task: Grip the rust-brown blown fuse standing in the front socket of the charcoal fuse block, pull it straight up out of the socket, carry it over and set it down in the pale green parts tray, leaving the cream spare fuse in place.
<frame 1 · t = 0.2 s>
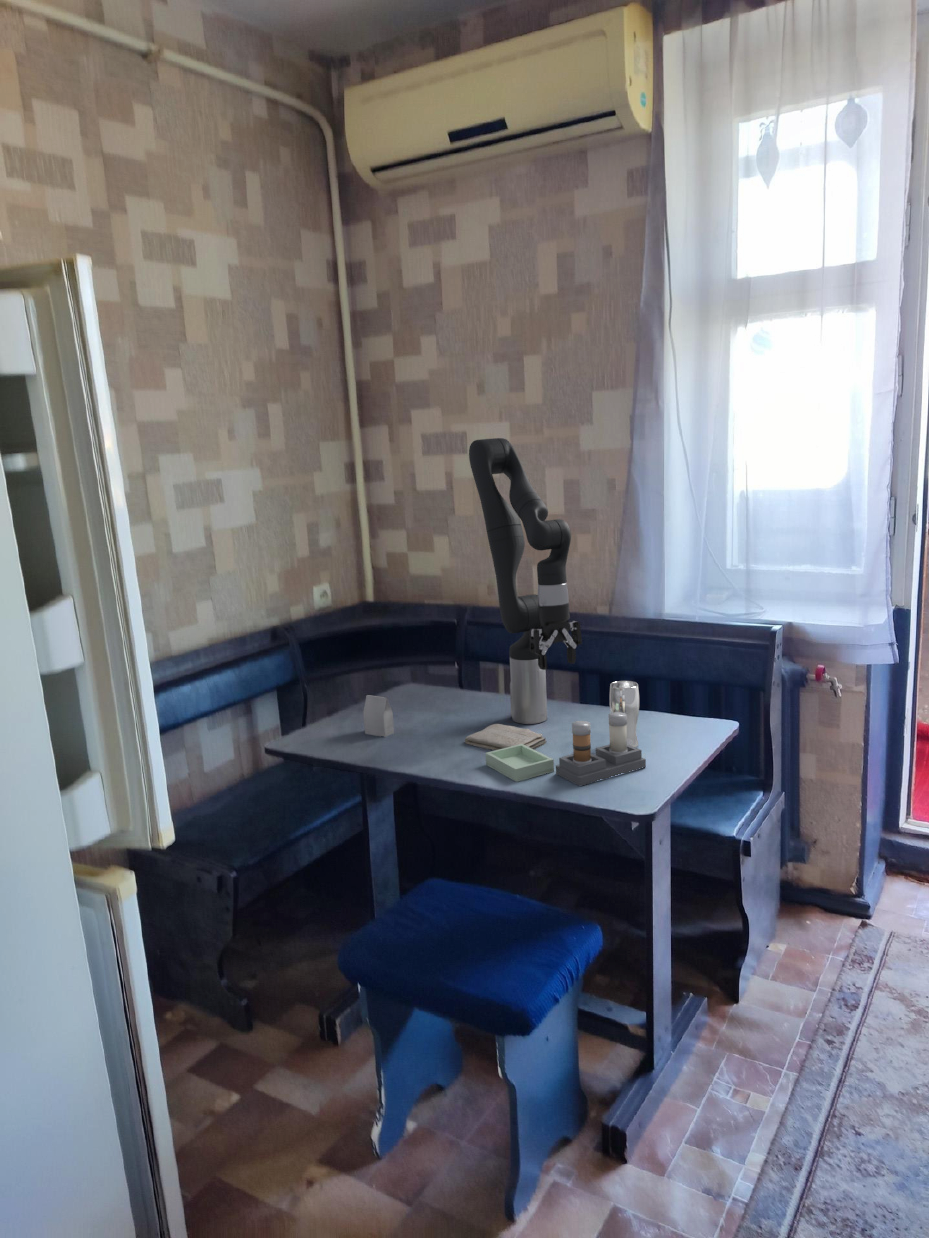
hand: (557, 666, 225), 17 cm above the table, tool pointing down, fingers open, 8 cm apart
washcloth: (505, 745, 223), on the table
beer glass: (625, 745, 217), on the table
fuse block: (601, 770, 202), on the table
parts tray: (519, 768, 206), on the table
spare fuse: (618, 757, 203), point 2 cm above the table, touching fuse block
blown fuse: (582, 767, 199), point 2 cm above the table, touching fuse block
tea bag: (379, 734, 236), on the table
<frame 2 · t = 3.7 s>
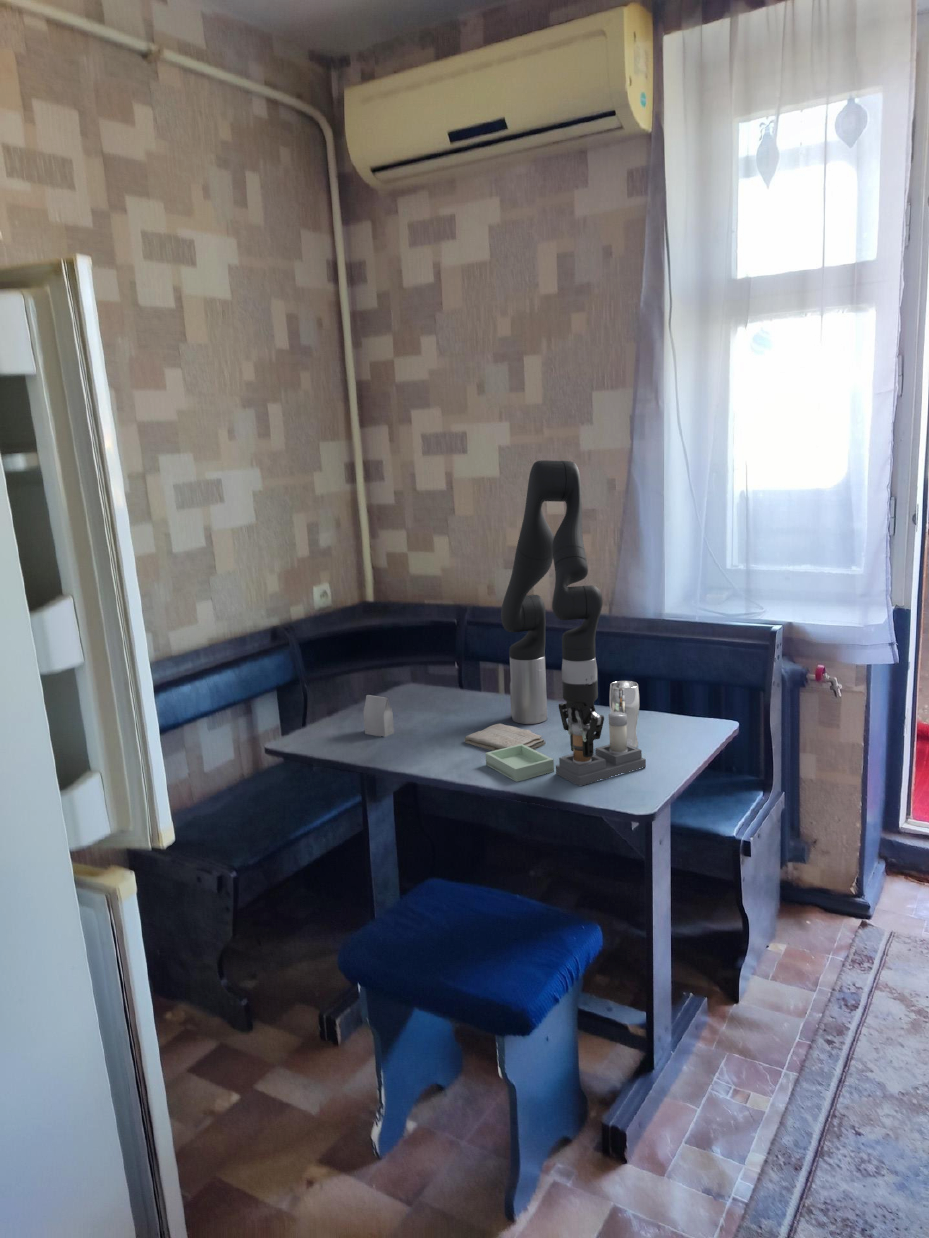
hand: (582, 753, 198), 5 cm above the table, tool pointing down, fingers closed on blown fuse, 4 cm apart
blown fuse: (582, 767, 199), point 2 cm above the table, touching fuse block, gripper
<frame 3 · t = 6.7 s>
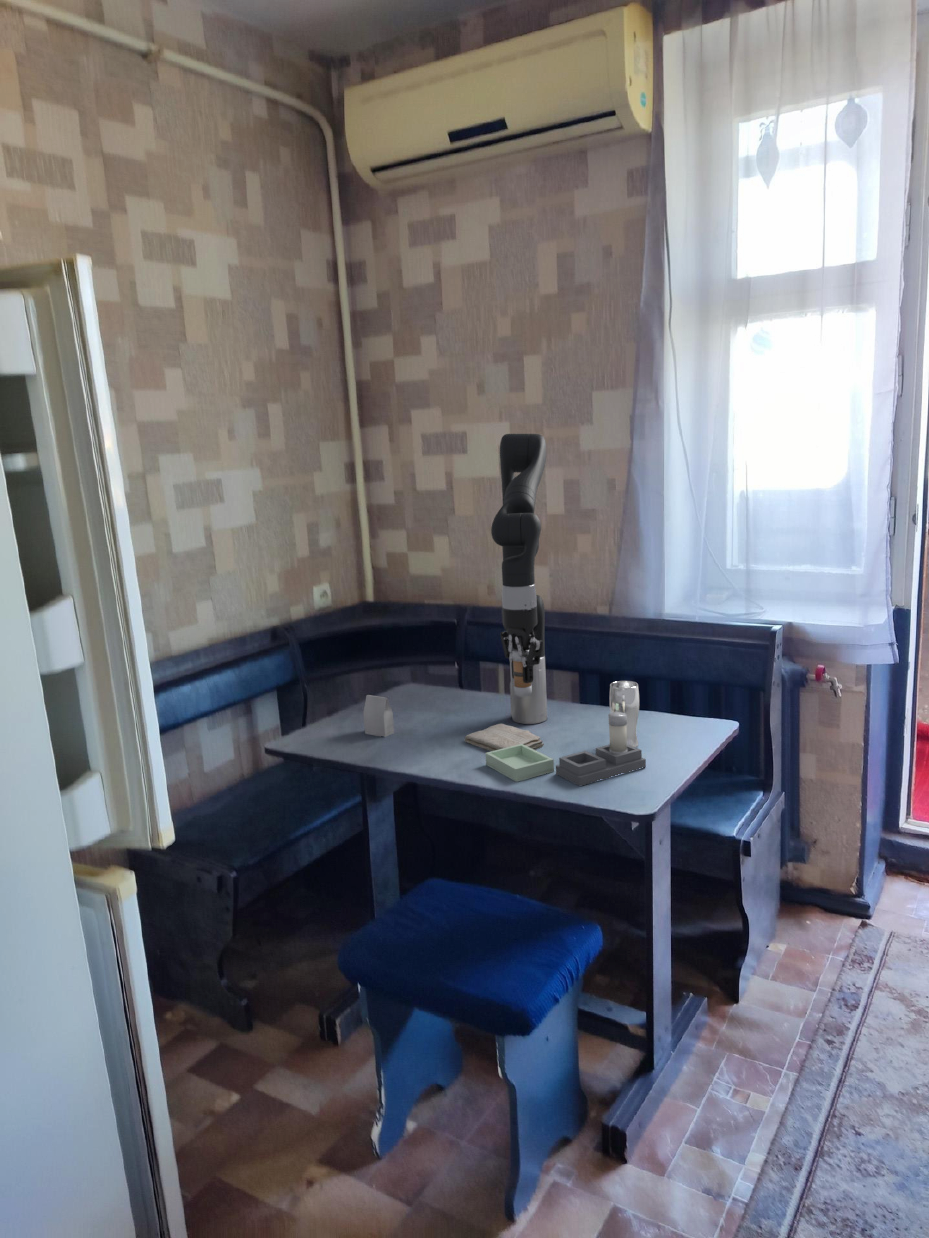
hand: (522, 679, 201), 21 cm above the table, tool pointing down, fingers closed on blown fuse, 4 cm apart
blown fuse: (523, 693, 202), point 18 cm above the table, touching gripper
when the fingers open (6 cm above the table, at t = 9.6 s): blown fuse drops 2 cm, resting on parts tray.
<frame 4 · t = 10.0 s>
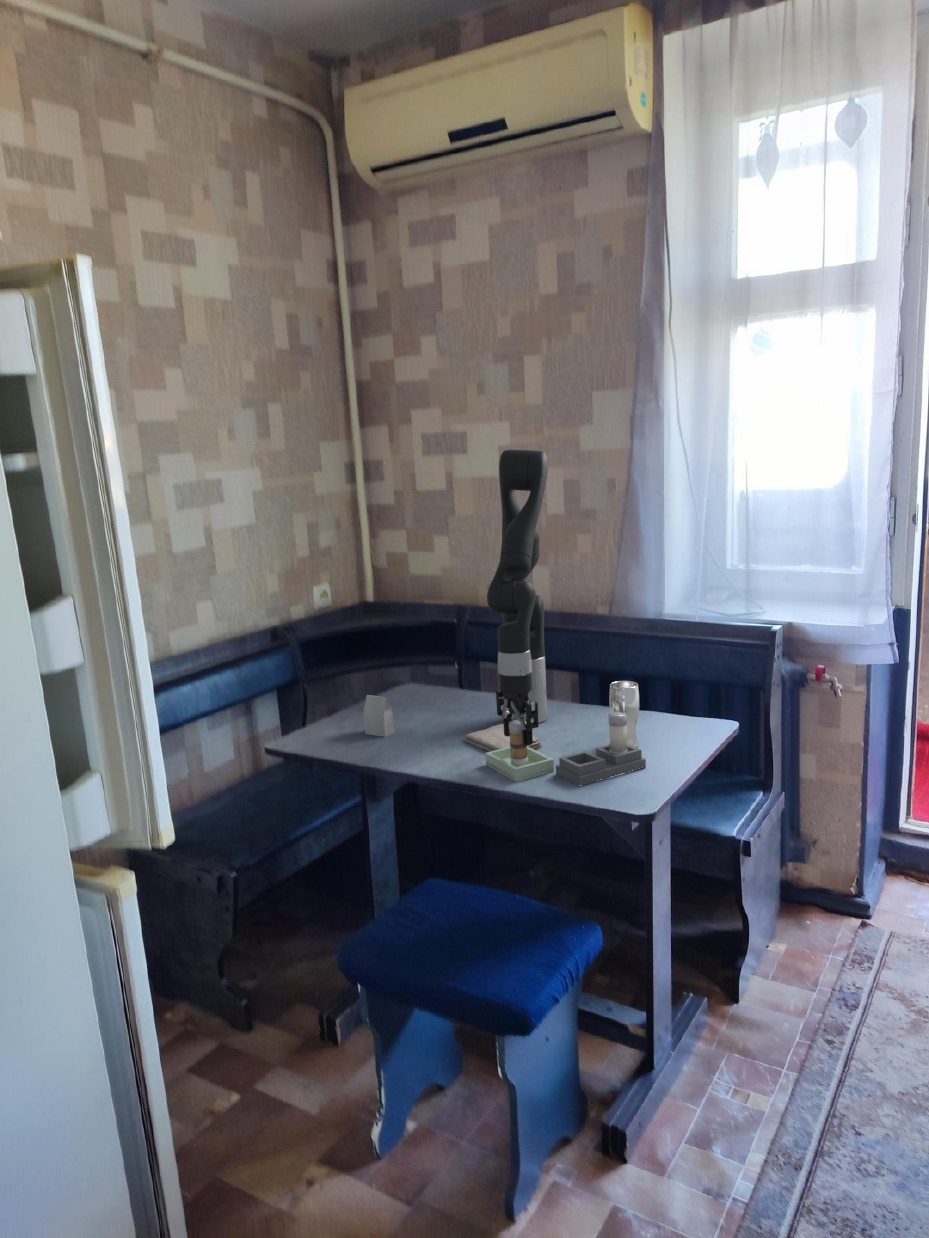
hand: (518, 740, 205), 7 cm above the table, tool pointing down, fingers open, 7 cm apart
blown fuse: (519, 764, 206), point 1 cm above the table, touching parts tray
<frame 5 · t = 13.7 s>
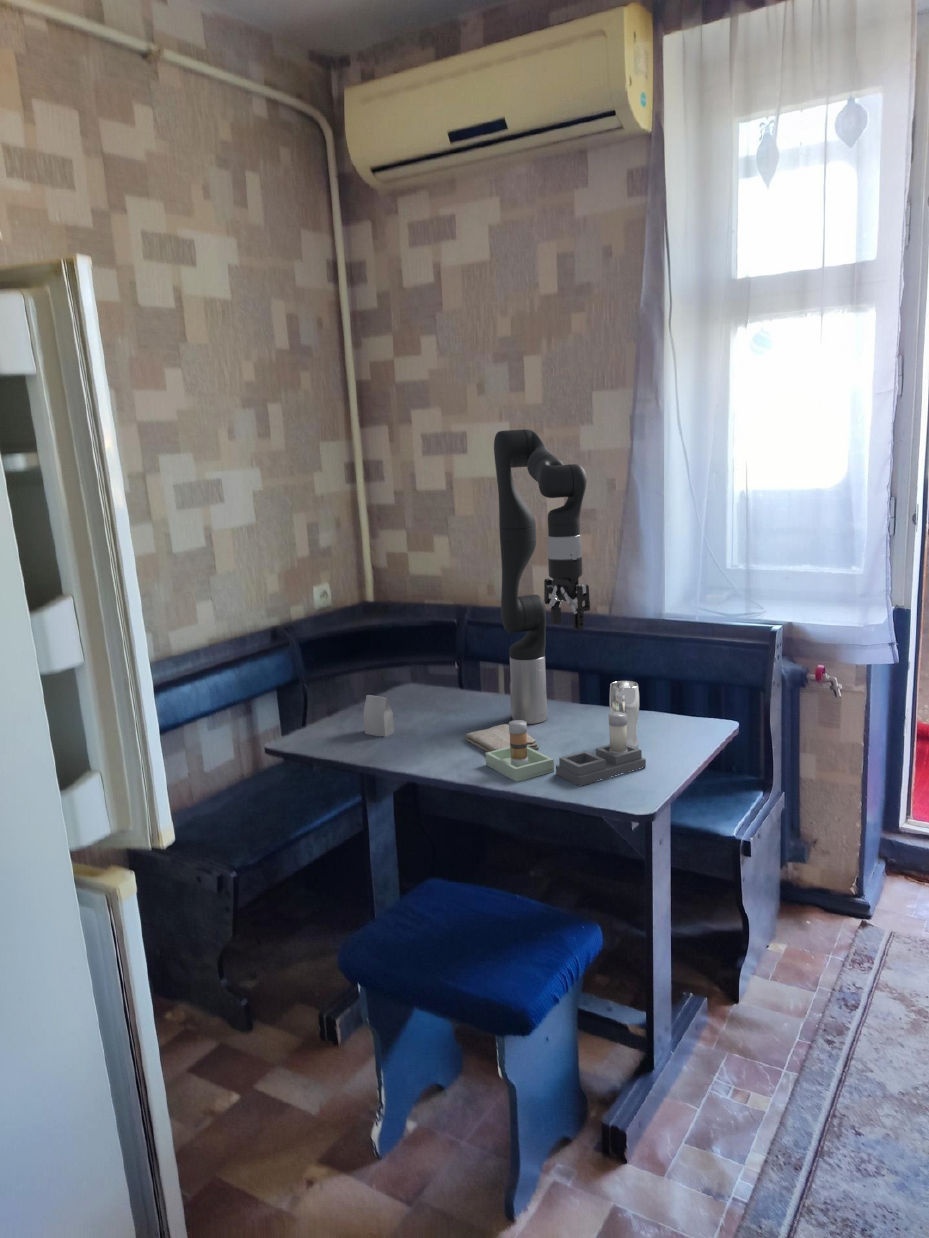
hand: (567, 626, 205), 31 cm above the table, tool pointing down, fingers open, 8 cm apart
at the end: blown fuse inside the target area on the parts tray (0.1 cm from its centre), point 0.8 cm above the parts tray's base; the gripper is holding nothing; spare fuse moved 0.1 cm from its start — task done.
